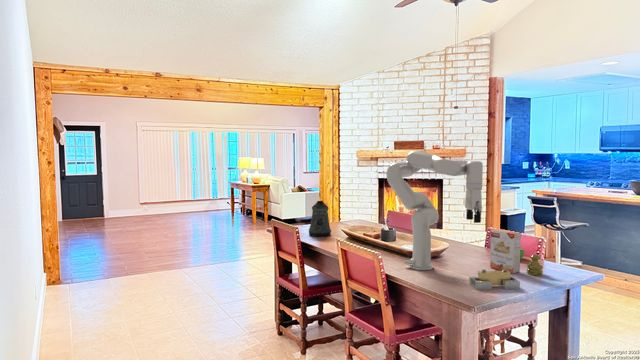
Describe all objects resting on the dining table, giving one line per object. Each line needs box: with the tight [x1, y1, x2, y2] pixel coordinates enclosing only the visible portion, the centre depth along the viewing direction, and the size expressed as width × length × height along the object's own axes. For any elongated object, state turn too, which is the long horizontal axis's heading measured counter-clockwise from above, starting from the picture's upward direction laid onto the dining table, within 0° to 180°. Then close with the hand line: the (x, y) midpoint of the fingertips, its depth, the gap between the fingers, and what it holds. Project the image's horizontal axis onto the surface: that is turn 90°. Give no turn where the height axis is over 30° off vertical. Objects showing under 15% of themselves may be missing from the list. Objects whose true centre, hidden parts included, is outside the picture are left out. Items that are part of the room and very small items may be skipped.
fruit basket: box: [520, 244, 526, 260], centre depth 264 cm, size 11×9×11 cm
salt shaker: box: [526, 253, 544, 277], centre depth 233 cm, size 7×7×10 cm
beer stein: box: [308, 200, 332, 238], centre depth 338 cm, size 16×19×25 cm
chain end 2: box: [498, 275, 521, 290], centre depth 214 cm, size 7×9×4 cm
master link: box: [477, 269, 511, 286], centre depth 213 cm, size 14×3×7 cm, turn 93°
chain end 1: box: [468, 276, 493, 291], centre depth 213 cm, size 7×9×4 cm
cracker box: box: [489, 228, 522, 274], centre depth 240 cm, size 14×6×21 cm, turn 33°
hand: (473, 221), depth 226 cm, fingers open, 9 cm apart
